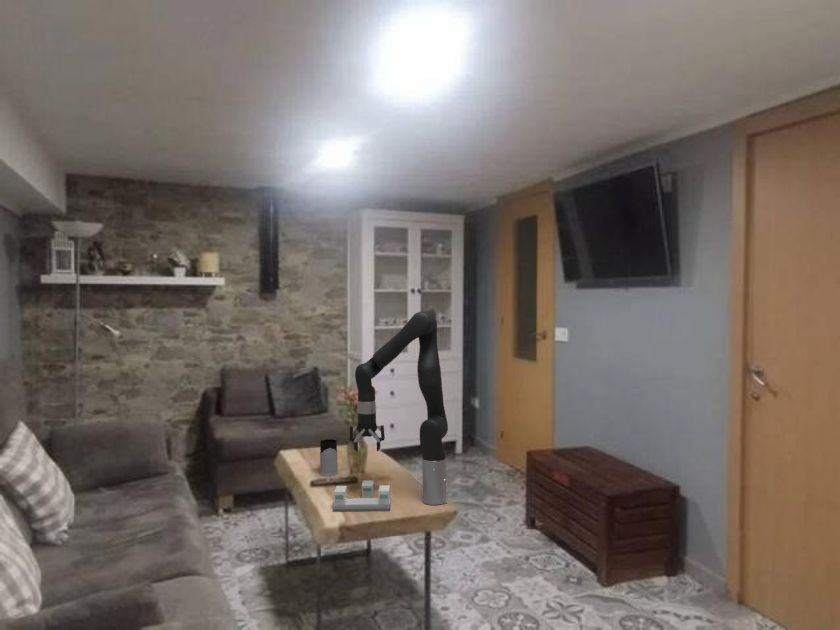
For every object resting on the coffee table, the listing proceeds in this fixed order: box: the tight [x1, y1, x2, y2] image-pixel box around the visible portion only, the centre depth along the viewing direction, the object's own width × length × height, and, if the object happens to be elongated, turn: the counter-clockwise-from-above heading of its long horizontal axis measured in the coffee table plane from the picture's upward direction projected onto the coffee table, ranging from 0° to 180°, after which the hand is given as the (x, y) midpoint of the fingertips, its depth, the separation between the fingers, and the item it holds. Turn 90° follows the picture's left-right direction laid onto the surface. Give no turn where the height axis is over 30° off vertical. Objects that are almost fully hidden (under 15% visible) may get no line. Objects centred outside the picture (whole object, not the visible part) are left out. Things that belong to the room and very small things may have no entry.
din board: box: [332, 484, 392, 513], centre depth 231 cm, size 22×12×7 cm, turn 91°
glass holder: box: [318, 438, 339, 477], centre depth 277 cm, size 9×14×15 cm, turn 16°
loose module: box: [361, 479, 375, 498], centre depth 244 cm, size 4×7×5 cm, turn 1°
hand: (367, 450), depth 244 cm, fingers open, 8 cm apart
